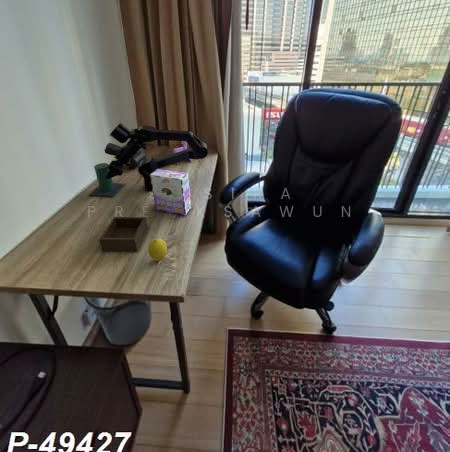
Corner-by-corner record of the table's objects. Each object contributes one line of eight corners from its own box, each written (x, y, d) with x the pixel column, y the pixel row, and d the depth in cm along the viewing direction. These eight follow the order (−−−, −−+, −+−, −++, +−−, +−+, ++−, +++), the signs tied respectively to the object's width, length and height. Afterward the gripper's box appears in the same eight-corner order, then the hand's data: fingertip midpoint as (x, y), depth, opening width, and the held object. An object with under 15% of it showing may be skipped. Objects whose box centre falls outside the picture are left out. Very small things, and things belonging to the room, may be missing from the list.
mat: (103, 183, 122) (102, 182, 122) (124, 184, 121) (124, 183, 120) (89, 195, 112) (89, 194, 112) (112, 197, 111) (112, 196, 111)
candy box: (192, 208, 103) (188, 172, 96) (185, 216, 98) (181, 179, 91) (162, 202, 107) (157, 167, 100) (155, 209, 102) (149, 174, 95)
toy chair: (173, 160, 146) (170, 135, 139) (188, 157, 149) (186, 133, 142) (177, 165, 139) (174, 140, 132) (192, 162, 142) (190, 137, 135)
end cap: (138, 170, 135) (136, 158, 131) (126, 169, 136) (123, 157, 133) (146, 162, 143) (144, 151, 140) (135, 161, 144) (133, 150, 141)
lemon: (152, 253, 81) (148, 234, 77) (169, 252, 81) (166, 233, 78) (148, 267, 76) (144, 247, 72) (167, 265, 76) (164, 245, 73)
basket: (116, 227, 92) (113, 216, 90) (147, 227, 92) (145, 217, 90) (102, 250, 82) (98, 239, 80) (137, 251, 82) (134, 239, 80)
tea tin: (115, 190, 115) (109, 166, 110) (101, 193, 113) (94, 169, 107) (113, 184, 120) (107, 161, 114) (99, 187, 117) (93, 164, 112)
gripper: (120, 130, 114) (100, 154, 118) (107, 145, 97) (85, 172, 101) (140, 146, 118) (121, 168, 122) (131, 162, 101) (109, 188, 106)
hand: (110, 173), depth 113 cm, fingers open, 9 cm apart
